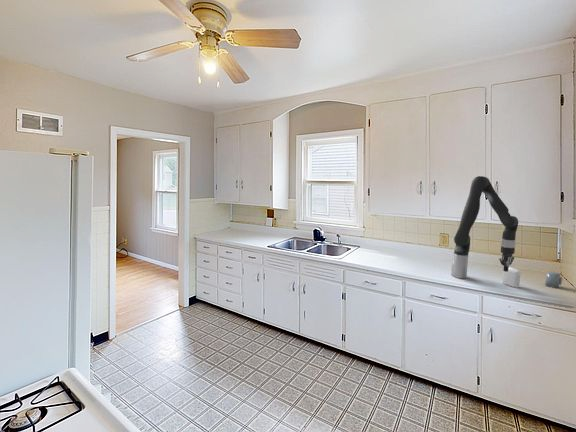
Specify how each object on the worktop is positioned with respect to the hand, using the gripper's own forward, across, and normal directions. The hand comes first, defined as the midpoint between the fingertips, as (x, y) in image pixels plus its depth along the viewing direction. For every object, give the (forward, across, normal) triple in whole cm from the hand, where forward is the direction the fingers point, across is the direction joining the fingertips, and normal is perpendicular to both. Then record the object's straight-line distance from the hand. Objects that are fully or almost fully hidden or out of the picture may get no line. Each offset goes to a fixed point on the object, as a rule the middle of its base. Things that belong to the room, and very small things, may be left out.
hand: (505, 271), depth 201 cm
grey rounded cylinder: (+11, -31, +13) cm, 35 cm away
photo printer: (+11, -7, 0) cm, 13 cm away
